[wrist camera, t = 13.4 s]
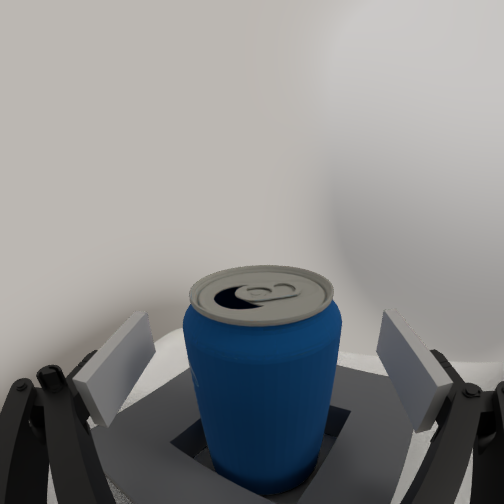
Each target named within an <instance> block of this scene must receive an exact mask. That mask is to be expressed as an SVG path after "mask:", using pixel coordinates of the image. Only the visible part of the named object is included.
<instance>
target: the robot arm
mask: <svg viewBox="0 0 504 504" xmlns="http://www.w3.org/2000/svg"><path fill="white" fill-rule="evenodd" d="M155 352H156V350H155V346H154V342H153V338H152V333H151V329H150V324H149V319H148V314H147V312H144V311H135V312H134V313H133V314H132V315H131V316H130V317H129V318H128V319H127V320H126V321H125V322H124V323H123V325H122V326H121V327H120V328H119V329H118V330H117V331H116V332H115V333H114V334H113V335H112V336H111V337H110V338H109V339H108V340H107V341H106V342H105V344H104V345H103V346H102V347H101V348H100V349H99V350H94V351H93V352H91V353H89V354H88V355H87V356H86V357H85V358H84V359H83V360H82V362H80V363H79V364H78V366H76V367H75V368H74V369H73V371H72V372H71V373H70V374H69V375H68V376H67V377H66V378H65V377H64V375H63V372H62V370H61V368H60V367H59V366H57V365H48V366H45V367H43V368H42V369H40V370H39V371H38V372H37V375H36V377H37V379H38V381H39V383H40V385H41V387H42V388H37V387H34V385H33V383H32V381H31V380H30V379H27V378H22V379H19V380H17V381H15V382H14V383H13V385H12V386H11V388H10V391H9V393H8V395H7V398H6V401H5V403H4V406H3V408H2V411H1V413H0V504H47V487H48V473H49V462H50V468H51V474H52V479H53V484H54V488H55V493H56V497H57V501H58V504H116V502H115V499H114V497H113V495H112V492H111V490H110V487H109V485H108V482H107V480H106V477H105V474H104V472H103V469H102V466H101V463H100V460H99V457H98V454H97V451H96V448H95V444H94V441H93V438H92V434H91V430H90V427H89V424H88V422H87V421H86V420H87V419H88V418H89V416H91V418H92V420H93V422H94V424H97V425H100V426H103V427H106V428H108V427H109V426H110V424H111V422H112V421H113V419H114V417H115V416H116V414H117V413H118V411H119V409H120V408H121V406H122V404H123V403H124V401H125V400H126V398H127V396H128V395H129V393H130V392H131V390H132V388H133V387H134V385H135V384H136V382H137V380H138V379H139V377H140V376H141V374H142V373H143V371H144V369H145V368H146V366H147V365H148V363H149V362H150V360H151V358H152V357H153V355H154V354H155ZM376 352H377V354H378V356H379V358H380V360H381V362H382V364H383V366H384V368H385V370H386V372H387V373H388V375H389V377H390V380H391V382H392V384H393V386H394V388H395V390H396V392H397V394H398V396H399V398H400V400H401V402H402V404H403V406H404V409H405V411H406V413H407V415H408V417H409V419H410V422H411V424H412V426H413V428H414V430H415V433H419V432H423V431H426V430H430V429H431V428H432V426H433V424H434V422H435V420H436V422H437V424H438V428H437V430H436V432H435V433H434V435H433V437H432V439H431V440H430V442H431V444H430V447H429V449H428V451H427V453H426V456H425V458H424V460H423V462H422V464H421V466H420V468H419V470H418V472H417V474H416V476H415V478H414V480H413V482H412V484H411V486H410V487H409V489H408V491H407V493H406V494H405V496H404V498H403V500H402V501H401V503H400V504H454V502H455V499H456V497H457V494H458V492H459V489H460V486H461V484H462V481H463V478H464V475H465V472H466V469H467V466H468V462H469V459H470V456H471V452H472V448H473V473H472V487H471V497H470V504H504V381H502V382H500V383H499V384H498V385H497V387H496V389H495V391H484V392H483V391H482V390H481V388H480V387H479V386H477V385H475V384H473V383H465V382H464V381H463V379H462V378H461V377H460V375H459V374H458V373H457V372H456V370H455V369H454V368H453V367H452V365H451V364H450V363H449V362H448V360H447V359H446V358H445V356H444V355H443V354H442V353H440V352H438V351H437V350H435V349H434V350H429V349H428V348H427V347H426V345H424V343H423V342H422V340H421V339H420V338H419V336H418V335H417V334H416V333H415V331H414V330H413V329H412V328H411V327H410V325H409V324H408V323H407V322H406V320H405V319H404V318H403V317H402V316H401V314H400V313H399V312H398V311H397V310H396V309H389V310H384V312H383V318H382V324H381V330H380V335H379V340H378V345H377V351H376ZM29 421H30V422H29Z"/></svg>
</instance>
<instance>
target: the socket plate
mask: <svg viewBox="0 0 504 504" xmlns="http://www.w3.org/2000/svg"><path fill="white" fill-rule="evenodd" d="M413 429H414V428H413V426H412V424H411V422H410V419H409V417H408V415H407V413H406V411H405V409H404V406H403V404H402V402H401V400H400V398H399V396H398V394H397V392H396V390H395V388H394V386H393V384H392V382H391V380H390V377H388V376H383V375H378V374H373V373H369V372H364V371H360V370H355V369H351V368H347V367H343V366H338V365H336V371H335V378H334V384H333V389H332V395H331V401H330V406H329V411H328V416H327V421H326V426H325V430H324V433H326V434H329V435H332V436H336V437H338V438H337V439H336V441H335V443H334V445H333V447H332V448H331V450H330V452H329V454H328V455H327V457H326V459H325V460H324V462H323V464H322V465H321V467H320V469H319V470H318V472H317V473H316V475H315V476H314V478H313V480H312V481H311V483H310V484H309V486H308V487H307V489H306V490H305V492H304V493H303V494H302V496H301V497H300V499H299V500H298V502H297V503H296V504H390V503H391V500H392V498H393V495H394V493H395V490H396V487H397V484H398V481H399V478H400V475H401V472H402V469H403V466H404V463H405V459H406V456H407V452H408V449H409V445H410V441H411V437H412V433H413ZM91 434H92V438H93V441H94V444H95V448H96V451H97V454H98V457H99V460H100V463H101V466H102V469H103V472H104V474H105V475H106V476H107V477H108V479H109V480H110V481H111V482H112V483H113V484H114V485H115V486H116V487H117V488H118V489H119V490H120V491H121V492H122V493H123V494H124V495H125V496H126V497H127V498H128V499H129V500H130V501H131V502H132V503H133V504H277V503H275V502H272V501H270V500H268V499H266V498H263V497H261V496H259V495H257V494H255V493H253V492H251V491H249V490H247V489H245V488H243V487H241V486H239V485H237V484H235V483H233V482H231V481H230V480H228V479H226V478H224V477H222V476H221V475H219V474H217V473H215V472H214V471H212V470H210V469H209V468H207V467H205V466H204V465H202V464H201V463H199V462H197V461H196V460H194V459H193V457H194V456H195V455H196V454H198V453H199V452H200V451H201V450H202V449H203V448H204V447H206V446H207V441H206V437H205V433H204V429H203V425H202V421H201V417H200V412H199V408H198V404H197V399H196V395H195V390H194V385H193V381H192V376H191V371H190V368H188V369H187V370H185V371H184V372H182V373H181V374H179V375H178V376H176V377H175V378H173V379H172V380H170V381H169V382H167V383H166V384H164V385H163V386H161V387H160V388H158V389H156V390H155V391H153V392H152V393H150V394H149V395H147V396H145V397H144V398H142V399H141V400H139V401H138V402H136V403H134V404H133V405H131V406H129V407H128V408H126V409H125V410H123V411H121V412H120V413H118V414H116V416H115V417H114V419H113V421H112V422H111V424H110V426H109V427H108V428H106V427H103V426H100V425H98V426H96V427H94V428H92V429H91Z"/></svg>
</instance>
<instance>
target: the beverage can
mask: <svg viewBox="0 0 504 504" xmlns="http://www.w3.org/2000/svg"><path fill="white" fill-rule="evenodd" d="M333 294H334V289H333V286H332V284H331V283H330V282H329V280H327V279H326V278H325V277H323V276H321V275H320V274H317V273H315V272H312V271H309V270H305V269H300V268H295V267H289V266H276V265H259V266H245V267H238V268H232V269H227V270H223V271H219V272H216V273H213V274H210V275H208V276H206V277H204V278H202V279H200V280H199V281H197V282H196V283H195V284H194V285H193V286H192V288H191V290H190V293H189V297H190V302H191V304H190V306H189V308H188V309H187V311H186V313H185V316H184V319H183V332H184V338H185V344H186V349H187V355H188V360H189V366H190V371H191V376H192V381H193V385H194V390H195V395H196V399H197V404H198V408H199V412H200V417H201V421H202V425H203V429H204V433H205V437H206V441H207V445H208V448H209V452H210V456H211V459H212V463H213V466H214V468H215V470H216V472H217V474H219V475H221V476H222V477H224V478H226V479H228V480H230V481H231V482H233V483H235V484H237V485H239V486H241V487H243V488H245V489H247V490H249V491H251V492H253V493H255V494H257V495H272V494H278V493H282V492H285V491H288V490H290V489H293V488H295V487H296V486H298V485H300V484H301V483H302V482H304V481H305V480H306V479H307V478H308V477H309V476H310V475H311V473H312V472H313V470H314V468H315V466H316V464H317V460H318V456H319V452H320V448H321V444H322V439H323V435H324V430H325V426H326V421H327V416H328V411H329V406H330V401H331V395H332V389H333V384H334V378H335V371H336V365H337V358H338V351H339V343H340V335H341V326H342V319H341V314H340V311H339V309H338V306H337V305H336V304H335V302H334V301H333Z"/></svg>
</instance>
